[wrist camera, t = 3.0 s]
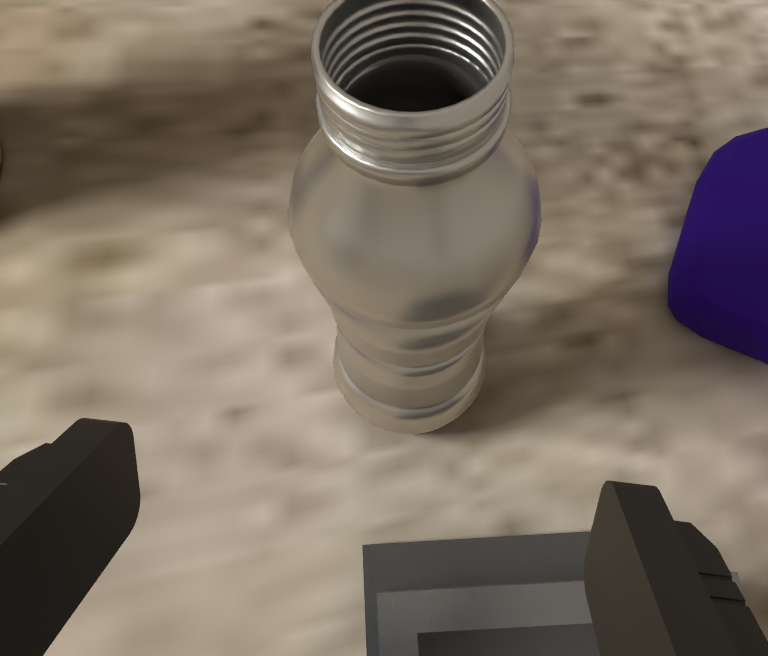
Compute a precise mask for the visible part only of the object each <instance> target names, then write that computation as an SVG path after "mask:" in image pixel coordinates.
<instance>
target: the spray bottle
mask: <svg viewBox="0 0 768 656" xmlns="http://www.w3.org/2000/svg"><path fill="white" fill-rule="evenodd" d="M668 307H669V309H670V310H671V312H672V313H673V315H674V316H675V318H676V319H677V320H678V321H680V322H681V323H683V324H684V325H686V326H687V327H689V328H690V329H692V330H693V331H695V332H696V333H697V334H699V335H700V336H702V337H704V338H707V339H709V340H711V341H714V342H716V343H719V344H721V345H724V346H726V347H728V348H731V349H733V350H736V351H738V352H740V353H743V354H745V355H748V356H750V357H753V358H755V359H758V360H760V361H763V362H765V363H768V128H765V129H761V130H757V131H754V132H750V133H747V134H743V135H740V136H736V137H735V138H733V139H732V140H730V141H729V142H728V143H726V144H725V145H723V146H722V147H721V148H719V149H718V150H716V151H715V152H714V153H713V155H712V157H711V158H710V160H709V162H708V163H707V165H706V167H705V168H704V170H703V172H702V173H701V175H700V177H699V178H698V180H697V182H696V186H695V189H694V192H693V195H692V198H691V201H690V204H689V208H688V211H687V214H686V217H685V221H684V224H683V228H682V231H681V234H680V238H679V241H678V244H677V248H676V251H675V255H674V258H673V261H672V265H671V268H670V272H669V276H668Z"/></svg>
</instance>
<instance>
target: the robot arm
mask: <svg viewBox="0 0 768 656" xmlns="http://www.w3.org/2000/svg"><path fill="white" fill-rule="evenodd" d="M0 165H1V146H0ZM139 507H140V489H139V480H138V472H137V463H136V454H135V446H134V437H133V432H132V429H131V427H130V426H129V424H127V423H124V422H115V421H107V420H98V419H90V418H81V419H79V420H77V421H76V422H75V423H74V424H73V425H72V426H70V427H69V428H68V429H67V430H66V431H65V432H64V433H63V434H62V435H61V436H59V437H58V438H57V439H56V440H55V441H54V442H53V443H52V444H49V443H45V444H43V445H41V446H39V447H37V448H35V449H33V450H31V451H29V452H27V453H25V454H23V455H21V456H19V457H17V458H16V459H14V460H13V461H11V462H10V463H9V464H8V465H7V466H6V467H5V468H3V469H2V470H1V471H0V656H43V655H44V653H45V652H46V650H47V649H48V648H49V646H50V645H51V643H52V642H53V641H54V639H55V638H56V636H57V635H58V634H59V632H60V631H61V629H62V628H63V627H64V625H65V624H66V622H67V621H68V620H69V618H70V617H71V615H72V614H73V613H74V611H75V610H76V608H77V607H78V605H79V604H80V603H81V601H82V600H83V598H84V597H85V596H86V594H87V593H88V591H89V590H90V589H91V587H92V586H93V584H94V583H95V582H96V580H97V579H98V577H99V576H100V575H101V573H102V572H103V570H104V569H105V568H106V566H107V565H108V563H109V562H110V561H111V559H112V558H113V556H114V555H115V554H116V552H117V551H118V549H119V548H120V547H121V545H122V544H123V542H124V541H125V540H126V538H127V537H128V535H129V534H130V532H131V531H132V529H133V527H134V525H135V522H136V519H137V516H138V512H139ZM584 586H585V593H586V598H587V602H588V606H589V610H590V615H591V619H592V623H593V627H594V631H595V635H596V640H597V644H598V648H599V652H600V656H768V642H767V640H766V638H765V636H764V634H763V632H762V630H761V629H760V627H759V625H758V623H757V621H756V619H755V617H754V616H753V614H752V612H751V610H750V608H749V607H747V606H745V599H744V597H743V595H742V593H741V591H740V590H739V588H738V586H737V584H736V582H733V581H732V575H731V573H730V571H729V569H728V567H727V565H726V564H725V562H724V560H723V558H722V556H721V554H720V553H719V551H718V549H717V548H716V547H715V546H714V545H713V544H712V543H711V542H710V541H709V540H708V539H707V538H706V537H705V536H704V535H703V534H702V533H701V532H700V531H699V530H698V529H697V528H696V527H694V526H693V525H692V524H691V523H689V522H680V521H674V520H673V518H672V516H671V514H670V512H669V510H668V507H667V505H666V503H665V501H664V499H663V497H662V495H661V493H660V491H659V489H658V488H657V487H655V486H650V485H641V484H633V483H624V482H616V481H606V482H605V483H604V485H603V487H602V489H601V493H600V497H599V501H598V505H597V509H596V513H595V517H594V521H593V526H592V530H591V534H590V538H589V542H588V546H587V550H586V555H585V562H584Z"/></svg>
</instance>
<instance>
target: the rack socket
mask: <svg viewBox="0 0 768 656" xmlns="http://www.w3.org/2000/svg"><path fill="white" fill-rule="evenodd" d="M590 534H591V532H574V533H557V534H540V535H523V536H506V537H489V538H472V539H455V540H438V541H422V542H405V543H388V544H371V545H363V569H364V595H365V621H366V647H367V656H600V652H599V648H598V644H597V640H596V635H595V631H594V627H593V623H592V619H591V615H590V610H589V606H588V602H587V598H586V593H585V586H584V562H585V555H586V550H587V546H588V542H589V538H590ZM731 575H732V581H733V582H736V584H737V586H738V588H739V590H740V591H741V593H742V590H741V586H740V582H739V578H738V574H737V572H733V573H731ZM742 595H743V594H742ZM745 606H746V605H745Z"/></svg>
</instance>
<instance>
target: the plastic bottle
mask: <svg viewBox="0 0 768 656" xmlns="http://www.w3.org/2000/svg"><path fill="white" fill-rule="evenodd" d="M311 60H312V68H313V73H314V77H315V82H316V87H317V91H316V99H315V102H316V110H317V116H318V121H319V126H320V129H319V130H318V131H317V133H316V134H315V135H314V136H313V138H312V139H311V141H310V142H309V144H308V145H307V147H306V148H305V150H304V151H303V153H302V154H301V157H300V159H299V162H298V164H297V167H296V170H295V172H294V177H293V182H292V187H291V192H290V199H289V206H288V220H289V230H290V234H291V237H292V240H293V243H294V246H295V249H296V252H297V254H298V256H299V258H300V260H301V262H302V264H303V267H304V268H305V270H306V272H307V273H308V275H309V276H310V278H311V279H312V281H313V283H314V284H315V285H316V287H317V288H318V290H319V291H320V293H321V294H322V296H323V297H324V299H325V300H326V302H327V303H328V305H329V306H330V308H331V311H332V313H333V316H334V318H335V321H336V323H337V336H336V339H335V349H334V362H333V364H334V372H335V378H336V381H337V384H338V387H339V389H340V391H341V393H342V394H343V396H344V398H345V399H346V401H347V402H348V403H349V405H350V406H351V407H352V408H353V409H354V410H355V411H356V412H357V413H358V414H360V415H361V416H362V417H364V418H365V419H366V420H368V421H369V422H370V423H372V424H373V425H376V426H378V427H380V428H382V429H384V430H387V431H391V432H395V433H399V434H419V433H427V432H430V431H433V430H436V429H439V428H441V427H443V426H444V425H446V424H448V423H450V422H451V421H453V420H455V419H456V418H458V417H459V416H460V415H461V414H462V413H463V412H464V411H466V410H467V409H468V408H469V406H470V405H471V404H472V402H473V401H474V400H475V398H476V397H477V395H478V393H479V391H480V388H481V386H482V384H483V379H484V375H485V344H484V339H483V337H484V328H485V326H486V324H487V322H488V320H489V318H490V316H491V314H492V312H493V310H494V309H495V308H496V307H497V305H498V304H499V303H500V301H501V300H502V299H503V297H504V296H505V295H506V294H507V292H508V291H509V290H510V288H511V287H512V286H513V285H514V283H515V282H516V281H517V280H518V278H519V277H520V275H521V273H522V272H523V270H524V268H525V266H526V264H527V263H528V261H529V259H530V257H531V255H532V253H533V250H534V248H535V246H536V244H537V242H538V237H539V232H540V227H541V222H542V220H541V200H540V193H539V186H538V180H537V176H536V173H535V170H534V166H533V163H532V160H531V159H530V157H529V155H528V153H527V151H526V150H525V148H524V146H523V144H522V143H521V142H520V141H519V139H518V138H517V137H516V136H515V135H514V133H513V132H512V131H511V130H510V129H509V127H508V126H507V124H508V119H509V114H510V108H511V91H510V87H509V84H510V79H511V74H512V68H513V63H514V44H513V33H512V30H511V27H510V23H509V21H508V19H507V18H506V16H505V14H504V13H503V11H502V10H501V8H500V7H499V6H498V5H497V4H496V3H495V2H494V1H493V0H334V1H333V2H332V3H330V4H329V5H328V6H327V8H326V9H325V10H324V12H323V13H322V14H321V16H320V17H319V19H318V21H317V23H316V26H315V28H314V31H313V35H312V43H311Z"/></svg>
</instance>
